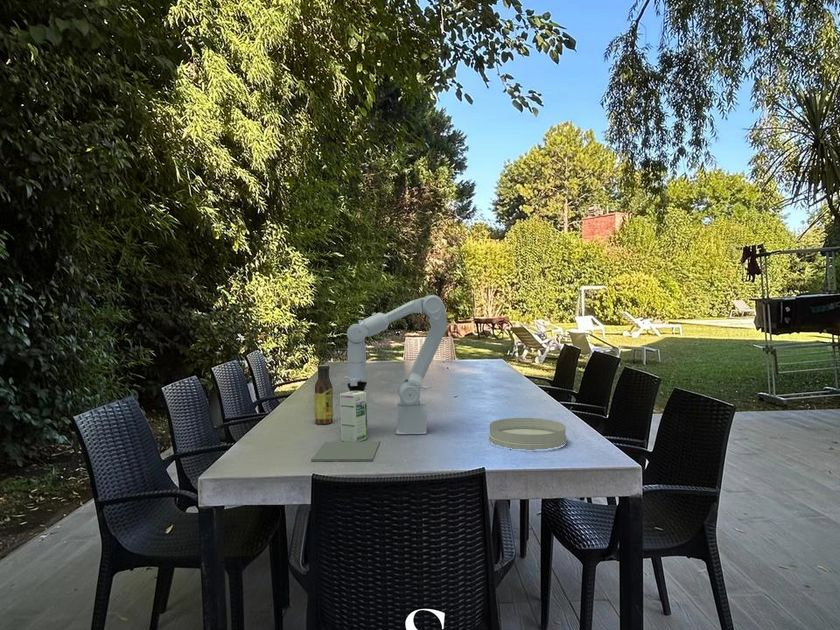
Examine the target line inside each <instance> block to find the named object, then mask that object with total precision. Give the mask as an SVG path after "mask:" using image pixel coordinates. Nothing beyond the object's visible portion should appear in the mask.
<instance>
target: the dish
mask: <svg viewBox="0 0 840 630" xmlns="http://www.w3.org/2000/svg"><path fill="white" fill-rule="evenodd" d="M566 430H567V429H566V425H564V424H563V423H561V422H559V421H556V420H551V419H545V418H538V417H537V418H536V417H507V418H501V419H496V420H494V421H492V422H490V424H489V434H488V441H489V440H490V442H492V443H493V444H495V445H499V446H502V447H507V448H512V449H526V450H535V449H548V448H554V447H559V446H561V445H564V444H565V443H566V444H567V435H566ZM490 442H489V443H490Z"/></svg>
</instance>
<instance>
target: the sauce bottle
mask: <svg viewBox="0 0 840 630" xmlns="http://www.w3.org/2000/svg"><path fill="white" fill-rule="evenodd" d="M333 418H334V388H333V385H332V382H331V379H330V365H328V364H322V365H321V364H319V365H317V380H316V382H315V384H314V423H315V424H316V425H328V424H331V423H333Z"/></svg>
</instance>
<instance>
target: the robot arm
mask: <svg viewBox="0 0 840 630" xmlns="http://www.w3.org/2000/svg"><path fill="white" fill-rule="evenodd" d="M410 314H424V315H425V316H426V318H427V320H428V323H429V325H430V329H429V331H428V333H427V335H426V337H425V339H424V342H423V343H422V346H421V348H420V350H419V352H418V355H417V356H416V359H415V360H414V363H413V365H412V367H411V369H410V371H409V372H408V374H407V375H406V377H405V379H404V381H402V382H401V383H400V384H399V385H398V388H397V393H398V395H399V398H400V399H399V401H397V428H396V431H395V434H396V435H427V431H428V428H429V422H428V421H427V419H428V416H427V414H428V412H427V403H421V401H420V400H419V399H420V396H421V389H422V386H423V383H424V379H425V376H426V374H427V372H428V371H429V368H430V366H431V364H432V361H433V359H434V357H435V355H436V353H437V351H438V349H439V347H440V344H441V342H442V341H443V338H444V336H445V334H446V332H447V329H448V322H447V320H448V319H447V313H446V306H445V304H444V301H443V300H442V299H441V298H440V297H439V296H438V295H435V294H431V295H426V296H424V297H420V298H417V299H413V300H410V301H409V302H406V303H404V304H402V305H401V306H399V307H397V308H395V309H393V310H391V311H389V312H387V313H383V312H377V313H376V311H375V312H373V313H371V316H368V317H367V318H364V319H359V320H357V321H358V323H353V324H352V325H350V326H349V327H348V329H347V331H346V336H347V339H348V340H347V349H346V350H347V375H345V376H344V377H343V379H344V380H348V381H349V382H348V383H347V388H348V389H349V392H350V391H364V392H365V389H366V386H367V381H364V380H367V379H368V376H367V353H366V352H367V348H366V346H365V345H366V343H365V339H366V338H367V337H368V338H370V337H372V336H375V335H376V334H379V333H381V332H383V331H385V330H388V327H389V325H390V323H392V322H395V321H397V320H399V319H401V318H404V317H406V316H408V315H410Z"/></svg>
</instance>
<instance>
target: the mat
mask: <svg viewBox="0 0 840 630" xmlns="http://www.w3.org/2000/svg"><path fill="white" fill-rule="evenodd" d="M380 444H381V441H377V440H375V441H369V440H368V441H360V442H344V441H324V442H323V444H322V445H321V446H320V447H319V449H318V450H317V451H316V453H314V455H313V456H312V457H311V459H310V462H311V461H323V462H325V463H329V462H331V463H332V462H333V463H334V462H335V463H338V462H339V463H341V462H342V463H343V462H344V463H345V462H354V463H355V462H357V463H359V462H373V461H374V459H375V456H376V454H377V451H378V449H379V447H380ZM323 462H322V463H323Z"/></svg>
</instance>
